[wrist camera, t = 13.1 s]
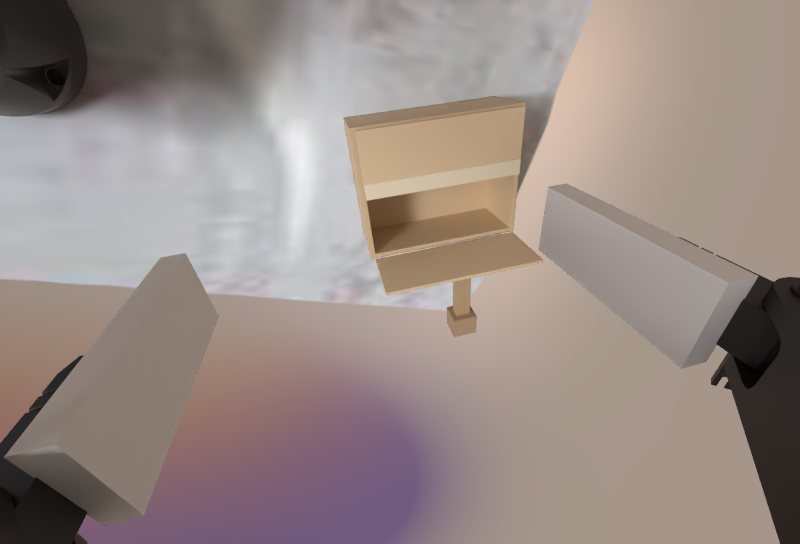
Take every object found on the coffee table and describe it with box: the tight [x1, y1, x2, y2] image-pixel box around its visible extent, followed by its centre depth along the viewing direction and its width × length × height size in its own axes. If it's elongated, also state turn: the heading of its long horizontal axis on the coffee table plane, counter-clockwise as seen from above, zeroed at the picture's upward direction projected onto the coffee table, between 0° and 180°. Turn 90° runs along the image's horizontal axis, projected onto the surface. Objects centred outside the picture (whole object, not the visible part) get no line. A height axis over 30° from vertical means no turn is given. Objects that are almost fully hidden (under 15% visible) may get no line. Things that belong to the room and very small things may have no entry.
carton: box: [343, 97, 526, 259], centre depth 43 cm, size 20×16×9 cm
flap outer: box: [376, 233, 543, 337], centre depth 44 cm, size 19×7×10 cm
